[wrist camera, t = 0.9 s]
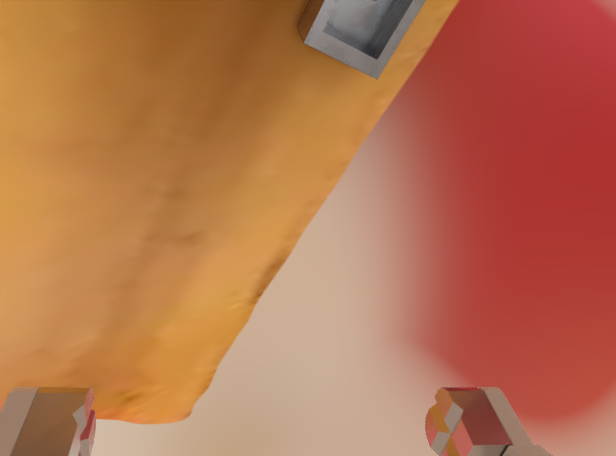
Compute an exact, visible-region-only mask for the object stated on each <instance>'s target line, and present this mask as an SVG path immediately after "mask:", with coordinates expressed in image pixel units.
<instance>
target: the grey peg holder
mask: <svg viewBox="0 0 616 456" xmlns="http://www.w3.org/2000/svg"><path fill="white" fill-rule="evenodd" d="M425 1H426V0H310V2H309V4H308V6H307V8H306V10H305V12H304V14H303V16H302V18H301V20H300V22H299V25H298V27H297V28H298V30H299V33H300V35H301V38H302V40H303V43H305V44H307V45H309V46H311V47H313V48H315V49H317V50H319V51H321V52H323V53H325V54H327V55H329V56H331V57H333V58H335V59H337V60H339V61H341V62H343V63H345V64H347V65H349V66H351V67H353V68H355V69H357V70H359V71H361V72H363V73H365V74H367V75H369V76H371V77H373V78H375V79H378V77H379V76H380V74H381V72H382V71H383V69H384V67H385V66H386V64H387V63H388V61H389V59H390V58H391V56H392V54H393V53H394V51H395V50H396V48H397V46H398V45H399V43H400V41H401V40H402V38H403V36H404V35H405V33H406V32H407V30H408V28H409V27H410V25H411V23H412V22H413V20H414V19H415V17H416V15H417V14H418V12H419V10H420V9H421V7H422V5H423V4H424V2H425Z"/></svg>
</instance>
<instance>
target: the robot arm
mask: <svg viewBox="0 0 616 456" xmlns="http://www.w3.org/2000/svg"><path fill="white" fill-rule="evenodd" d="M435 399H436V401H437V403H436V404H435V405H434V406H432V407H431V408H430V409H429V410H428V413H427V415H426V421H425V430H426V435H427V439H428V442H429V445H430V447H431V448H432V449H433V450H434V451H435V452H436V453H437V454H438V455H439V456H552V455H551V454H550V453H548V452H547V451H546V450H545V449H543V448H542V447H541V446H539V445H533V443H532V442H531V440H530V438H529V436H528V435H527V433H526V431H525V430H524V428H523V426H522V425H521V423H520V421H519V419H518V418H517V416H516V414H515V413H514V411H513V409H512V407H511V406H510V404H509V402H508V401H507V399H506V397H505V395H504V394H503V392H502V391H501V390H500V389H499V388H497V387H479V388H477V387H442V388H441V389H439V390H438V391H437V393H436V395H435ZM93 400H94V395H93V388H60V387H14V388H13V389H12V391H11V392H10V393H9V394H8V396H7V398H6V400H5V402H4V405H3V407H2V409H1V411H0V456H90V454H91V451H92V447H93V442H94V436H95V428H96V415H95V411H94V410H92V409H91V407H92V404H93Z"/></svg>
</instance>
